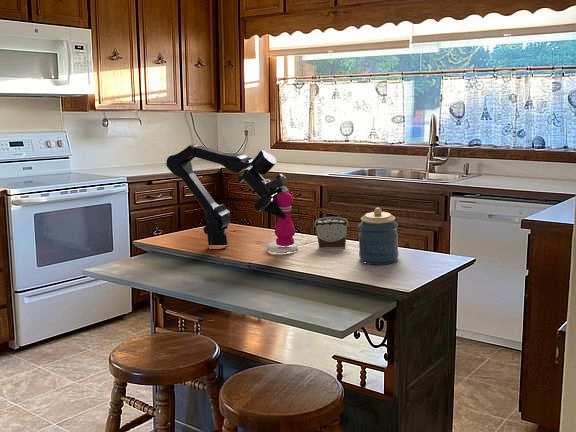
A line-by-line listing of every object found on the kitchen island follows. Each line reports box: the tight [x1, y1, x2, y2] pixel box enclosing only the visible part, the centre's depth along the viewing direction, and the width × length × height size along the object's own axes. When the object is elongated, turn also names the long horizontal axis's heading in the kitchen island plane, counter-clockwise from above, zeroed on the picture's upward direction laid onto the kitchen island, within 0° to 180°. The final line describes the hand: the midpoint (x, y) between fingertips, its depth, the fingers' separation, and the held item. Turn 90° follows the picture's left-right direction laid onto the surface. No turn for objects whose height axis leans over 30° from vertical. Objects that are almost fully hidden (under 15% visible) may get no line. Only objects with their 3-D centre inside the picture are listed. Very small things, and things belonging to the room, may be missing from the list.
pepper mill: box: [274, 188, 296, 246], centre depth 223 cm, size 7×7×20 cm
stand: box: [266, 241, 299, 253], centre depth 229 cm, size 11×11×2 cm
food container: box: [313, 216, 350, 249], centre depth 231 cm, size 12×6×10 cm, turn 84°
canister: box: [357, 207, 399, 265], centre depth 212 cm, size 13×13×18 cm
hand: (288, 216), depth 223 cm, fingers closed on pepper mill, 5 cm apart
